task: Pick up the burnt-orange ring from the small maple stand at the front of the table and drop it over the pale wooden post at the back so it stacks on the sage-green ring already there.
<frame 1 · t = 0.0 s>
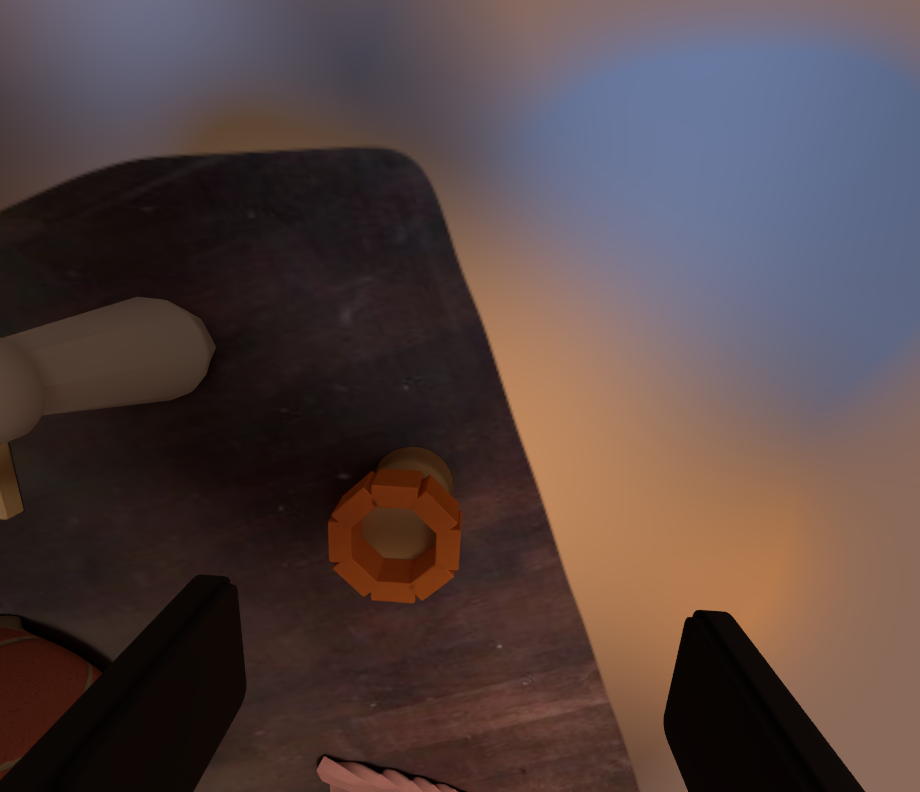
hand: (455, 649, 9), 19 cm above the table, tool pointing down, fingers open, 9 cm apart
top ring: (400, 525, 24), point 5 cm above the table, touching stand
planter: (40, 716, 35), on the table
stand: (413, 483, 28), on the table
salt shaker: (185, 343, 27), on the table
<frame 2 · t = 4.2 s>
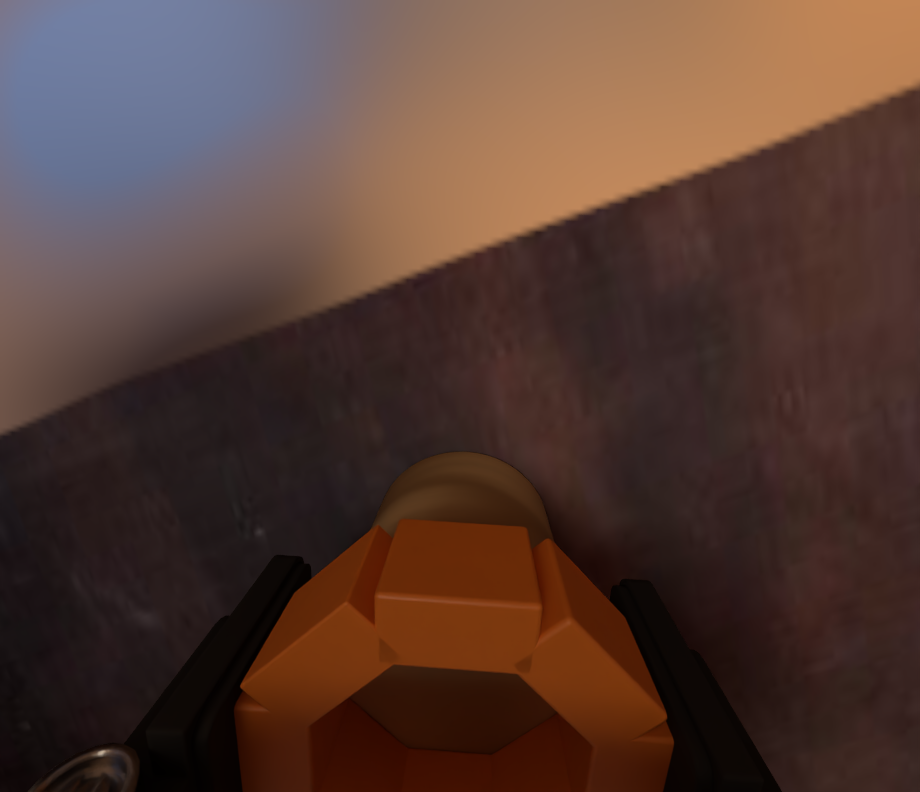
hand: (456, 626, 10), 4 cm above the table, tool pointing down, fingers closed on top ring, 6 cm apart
top ring: (454, 669, 9), point 5 cm above the table, touching gripper, stand
stand: (462, 529, 13), on the table
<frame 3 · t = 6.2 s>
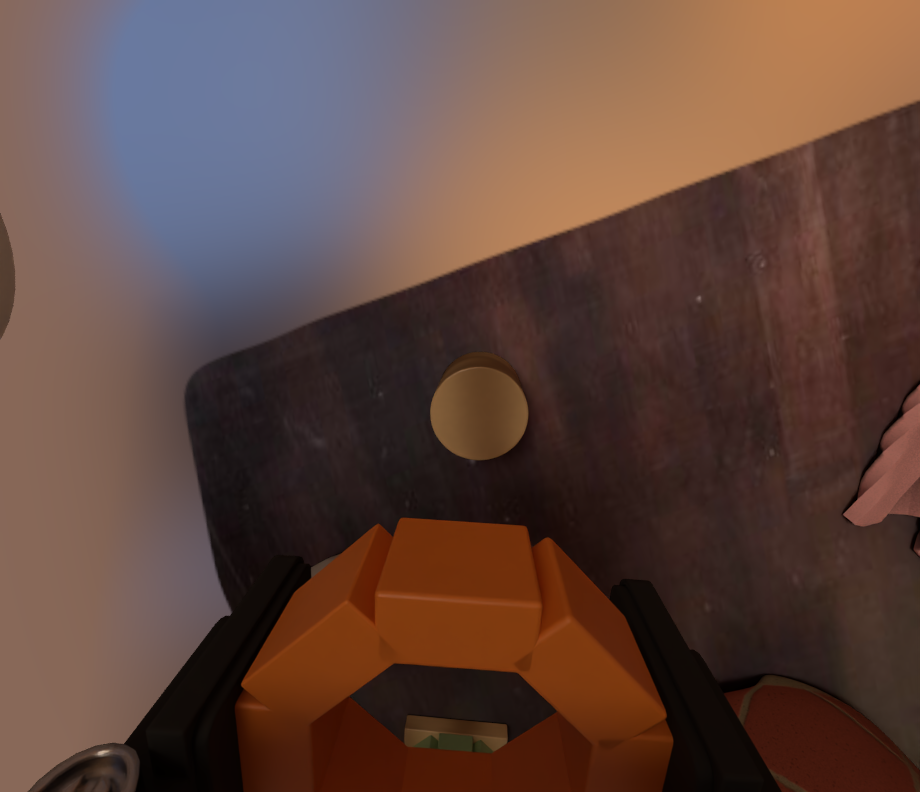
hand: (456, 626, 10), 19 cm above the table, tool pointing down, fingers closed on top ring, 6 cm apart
top ring: (454, 668, 9), point 20 cm above the table, touching gripper
planter: (741, 773, 35), on the table
post: (454, 756, 36), on the table
stand: (479, 391, 28), on the table
bottom ring: (453, 772, 35), point 1 cm above the table, touching post
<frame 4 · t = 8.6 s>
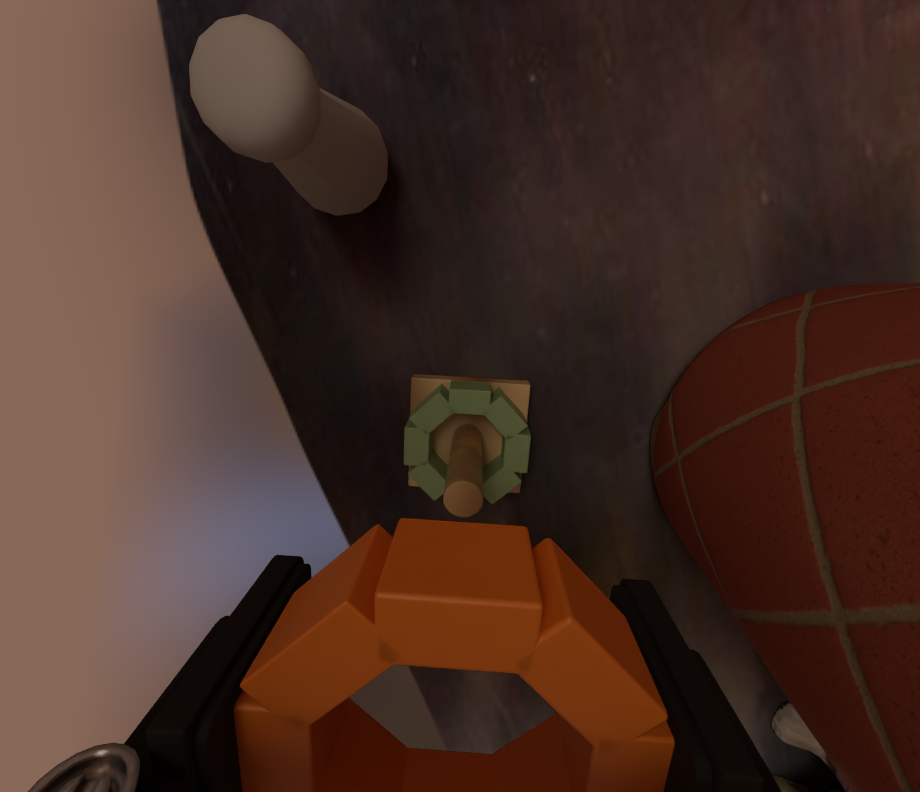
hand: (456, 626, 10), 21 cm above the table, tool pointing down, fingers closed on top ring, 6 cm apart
figurine: (835, 767, 38), on the table
top ring: (454, 669, 9), point 23 cm above the table, touching gripper
planter: (795, 438, 31), on the table
post: (467, 431, 31), on the table
bottom ring: (467, 437, 30), point 1 cm above the table, touching post
salt shaker: (350, 171, 27), on the table
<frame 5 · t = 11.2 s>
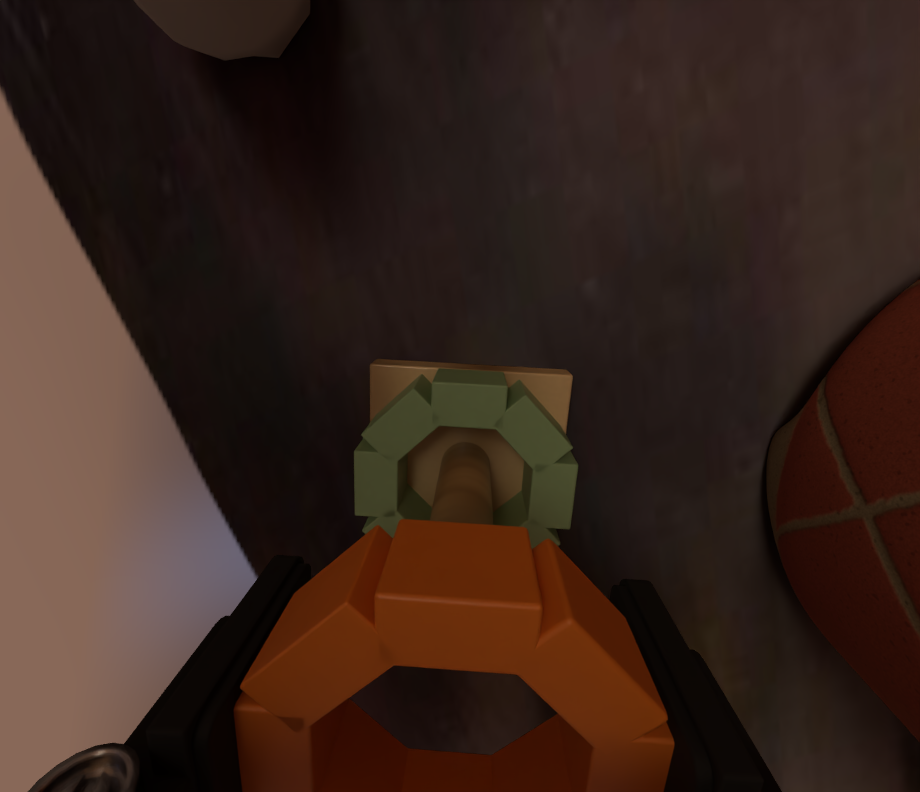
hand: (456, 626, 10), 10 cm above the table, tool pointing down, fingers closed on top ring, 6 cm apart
top ring: (454, 669, 9), point 11 cm above the table, touching gripper
post: (466, 452, 19), on the table
bottom ring: (465, 464, 18), point 1 cm above the table, touching post
when the fingers open (6 cm above the table, at t = 13.3 s): top ring drops 3 cm, resting on bottom ring.
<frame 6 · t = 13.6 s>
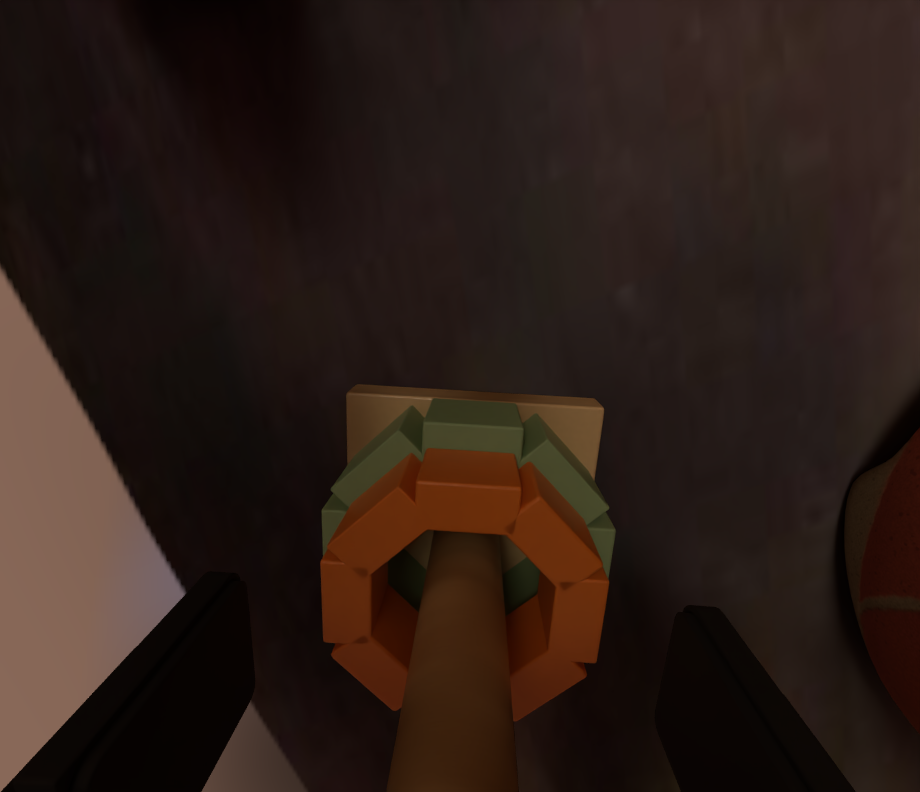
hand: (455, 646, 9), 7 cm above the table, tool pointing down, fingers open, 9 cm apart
top ring: (463, 560, 12), point 4 cm above the table, touching bottom ring
post: (468, 499, 16), on the table
bottom ring: (467, 516, 14), point 1 cm above the table, touching post, top ring
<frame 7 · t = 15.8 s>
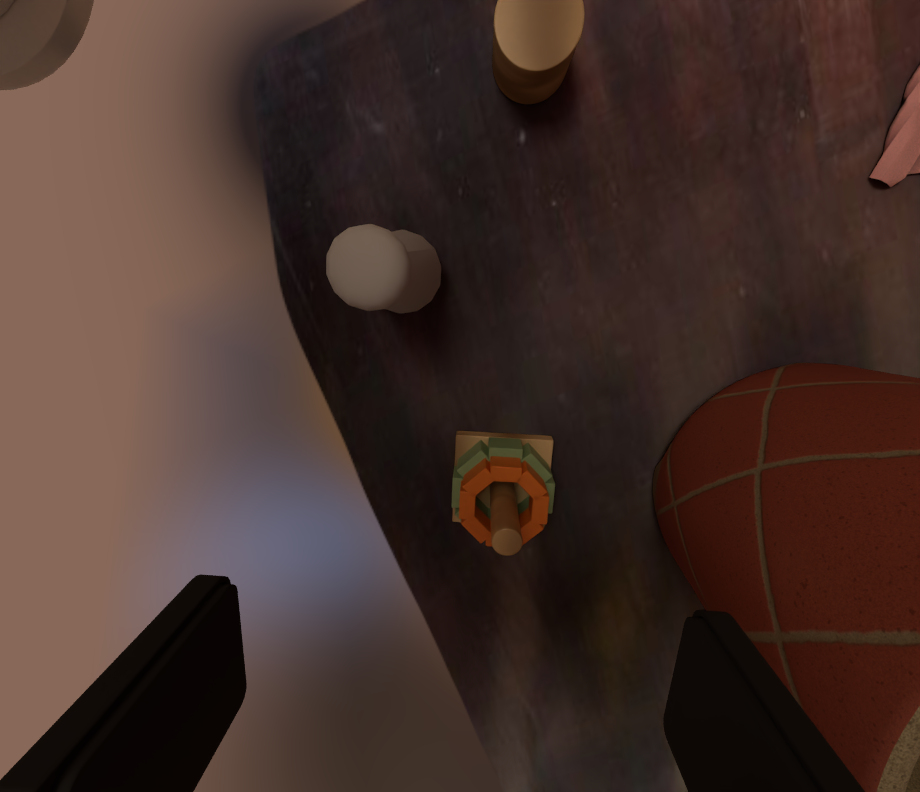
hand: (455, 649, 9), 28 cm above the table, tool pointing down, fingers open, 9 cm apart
top ring: (502, 495, 34), point 4 cm above the table, touching bottom ring
planter: (774, 480, 37), on the table
post: (500, 476, 38), on the table
stand: (530, 62, 30), on the table
bottom ring: (501, 482, 37), point 1 cm above the table, touching post, top ring
salt shaker: (407, 273, 34), on the table
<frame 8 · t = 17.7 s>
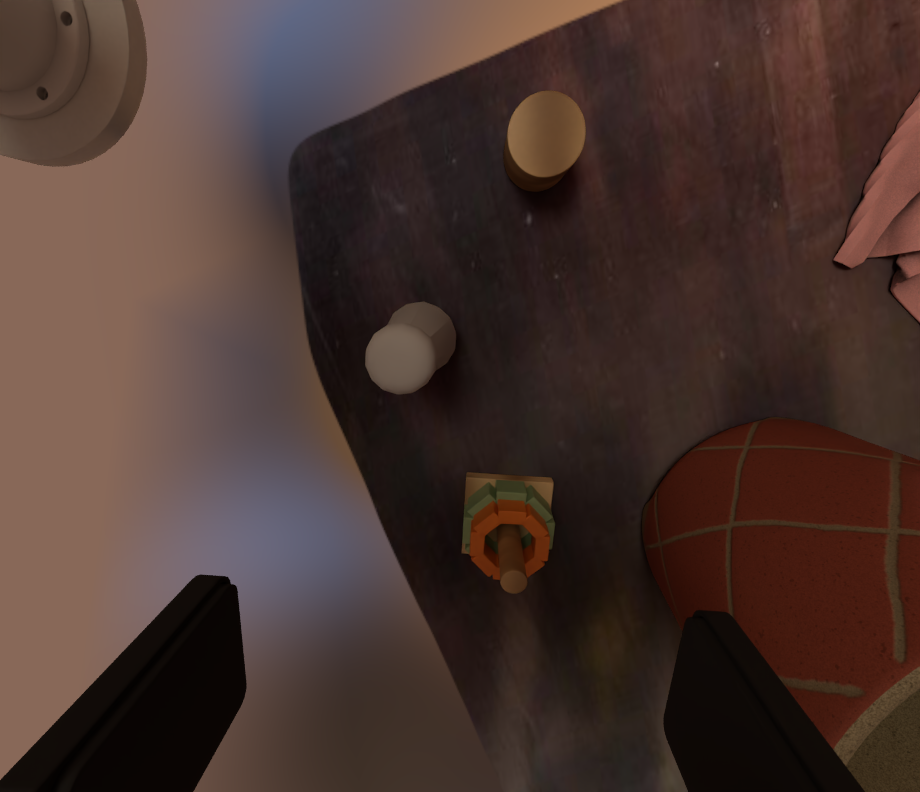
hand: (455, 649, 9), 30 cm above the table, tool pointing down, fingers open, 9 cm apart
top ring: (507, 533, 38), point 4 cm above the table, touching bottom ring
planter: (749, 518, 41), on the table
post: (505, 512, 42), on the table
stand: (536, 155, 34), on the table
bottom ring: (506, 519, 41), point 1 cm above the table, touching post, top ring
salt shaker: (424, 334, 38), on the table
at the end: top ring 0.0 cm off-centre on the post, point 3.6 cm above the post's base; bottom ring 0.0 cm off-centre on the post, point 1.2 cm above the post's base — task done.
